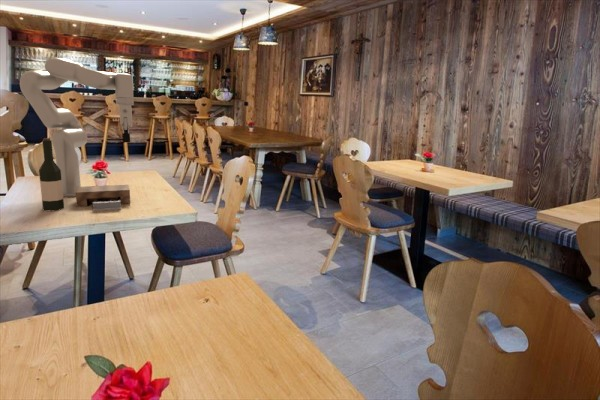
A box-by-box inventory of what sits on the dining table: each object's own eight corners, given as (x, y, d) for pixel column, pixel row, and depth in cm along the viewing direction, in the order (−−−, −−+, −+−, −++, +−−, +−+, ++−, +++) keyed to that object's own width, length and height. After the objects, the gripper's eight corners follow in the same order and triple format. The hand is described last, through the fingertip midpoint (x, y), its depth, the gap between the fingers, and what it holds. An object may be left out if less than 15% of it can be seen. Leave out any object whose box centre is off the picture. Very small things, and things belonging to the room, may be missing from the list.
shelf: (76, 206, 193) (75, 192, 191) (78, 200, 204) (77, 186, 202) (130, 203, 202) (129, 189, 200) (128, 197, 212) (128, 184, 211)
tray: (93, 212, 187) (92, 203, 186) (94, 203, 202) (93, 194, 201) (121, 210, 192) (120, 201, 191) (120, 202, 206) (119, 193, 205)
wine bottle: (49, 211, 184) (41, 140, 177) (38, 208, 188) (30, 138, 181) (68, 208, 191) (62, 138, 184) (57, 204, 195) (51, 137, 188)
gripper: (133, 102, 194) (135, 144, 198) (133, 101, 207) (134, 140, 212) (115, 101, 191) (117, 144, 196) (116, 100, 205) (118, 140, 209)
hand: (126, 142), depth 204 cm, fingers closed
